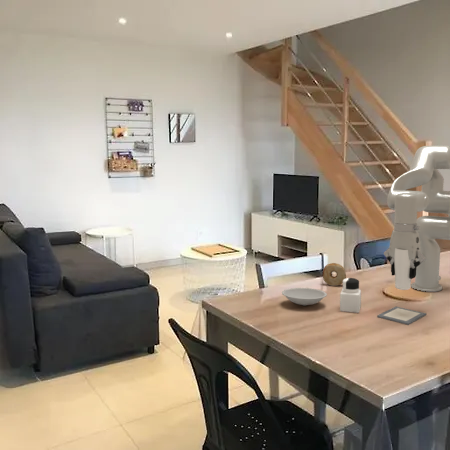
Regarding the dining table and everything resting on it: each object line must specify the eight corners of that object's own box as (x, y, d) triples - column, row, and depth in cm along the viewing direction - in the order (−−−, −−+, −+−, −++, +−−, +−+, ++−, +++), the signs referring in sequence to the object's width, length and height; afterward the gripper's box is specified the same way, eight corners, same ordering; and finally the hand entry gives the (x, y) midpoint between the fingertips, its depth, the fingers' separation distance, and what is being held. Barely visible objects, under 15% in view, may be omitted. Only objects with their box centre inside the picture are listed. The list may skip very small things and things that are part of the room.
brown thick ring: (321, 285, 230) (321, 263, 229) (323, 283, 234) (323, 261, 232) (344, 287, 227) (345, 265, 225) (346, 285, 230) (346, 263, 228)
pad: (395, 307, 198) (395, 306, 198) (426, 314, 190) (426, 313, 190) (377, 317, 189) (377, 315, 189) (408, 324, 180) (408, 323, 180)
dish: (328, 301, 208) (329, 289, 207) (324, 313, 194) (324, 300, 194) (286, 298, 213) (286, 286, 213) (278, 309, 200) (278, 296, 199)
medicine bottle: (360, 307, 200) (361, 277, 198) (359, 313, 194) (359, 282, 192) (341, 305, 203) (342, 276, 201) (339, 311, 196) (340, 280, 194)
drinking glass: (413, 291, 184) (415, 250, 181) (394, 290, 185) (395, 249, 182) (411, 286, 190) (412, 246, 188) (391, 285, 192) (393, 245, 189)
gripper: (433, 229, 180) (431, 278, 183) (388, 224, 193) (386, 270, 196) (423, 231, 175) (421, 282, 178) (377, 226, 188) (376, 274, 190)
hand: (403, 276), depth 187 cm, fingers closed on drinking glass, 6 cm apart
